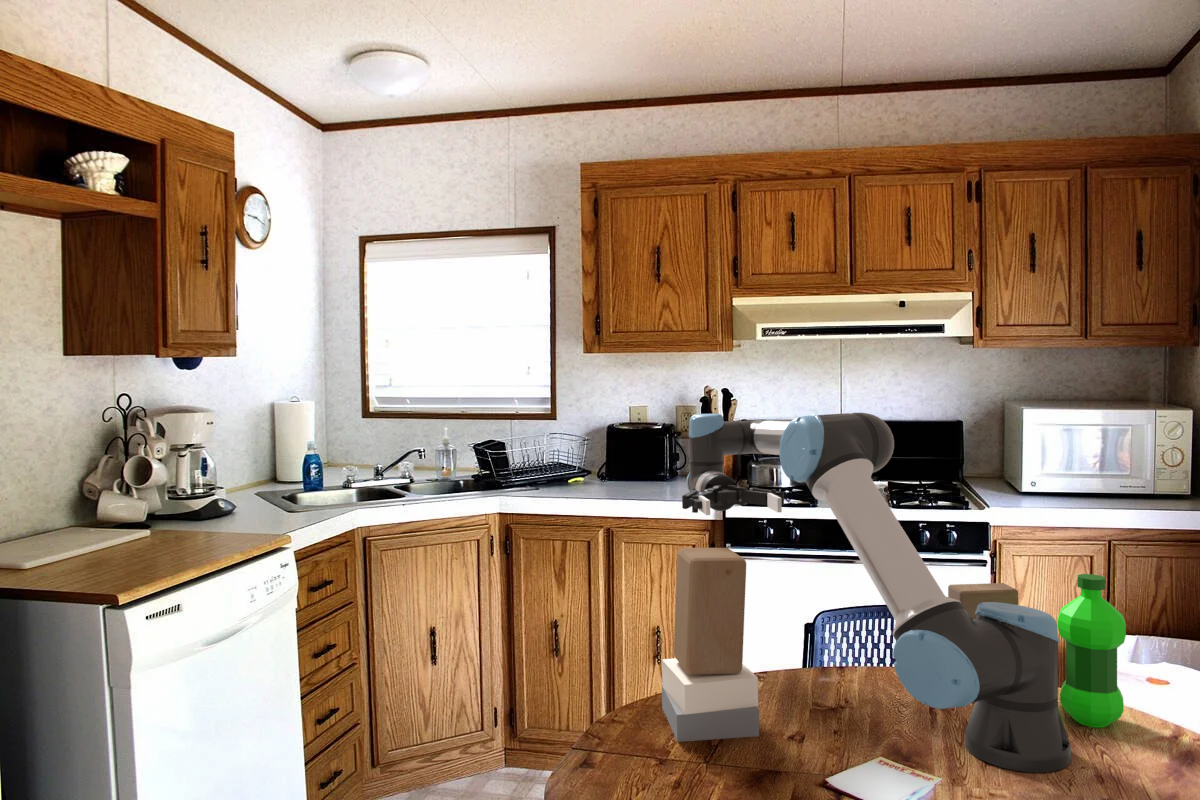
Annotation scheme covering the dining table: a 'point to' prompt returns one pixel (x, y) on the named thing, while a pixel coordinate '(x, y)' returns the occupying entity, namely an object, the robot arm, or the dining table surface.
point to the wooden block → (709, 610)
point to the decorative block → (982, 595)
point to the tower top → (709, 689)
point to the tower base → (710, 722)
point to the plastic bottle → (1091, 655)
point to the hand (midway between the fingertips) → (744, 506)
